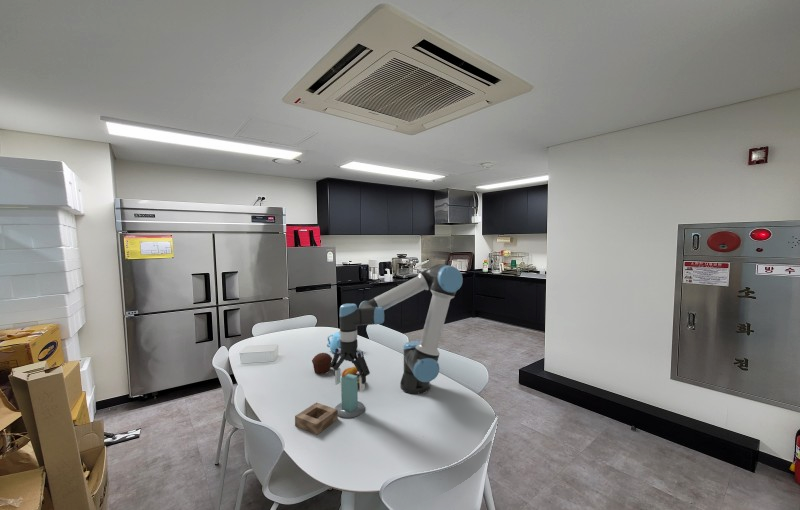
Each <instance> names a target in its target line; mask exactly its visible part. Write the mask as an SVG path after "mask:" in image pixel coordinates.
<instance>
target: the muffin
mask: <svg viewBox="0 0 800 510" xmlns="http://www.w3.org/2000/svg"><path fill="white" fill-rule="evenodd" d="M332 360H333V357H332V355H330V354H329V353H327V352H319V353H317V354H316V355H314V357H313V358H312V360H311V362H312V366H313V370H314V371H313V372H314V374H317V375H326V374H328V373H330V372H331V369H332V368H331V367H330V365H331V362H332Z"/></svg>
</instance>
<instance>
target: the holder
mask: <svg viewBox="0 0 800 510" xmlns="http://www.w3.org/2000/svg"><path fill="white" fill-rule="evenodd" d="M316 417H317V418H316ZM338 419H339V416H338V410H337V409H335V407H331V406H328V405H325V404H323V403H319V402H318V401H317V402H314V403H313V404H312V405H310V406H309V407H307V408H305V409H304V410H303V411H301V412H299V413H297V414H296V415H294V426H295V427H297V428H300V429H302V430H304V431H307V432H310V433H312V434H314V435H319V434H320V433H321V432H322V431H324V430H325V429H326V428H328V427H329V426H330V425H331V424H333V423H334V422H336V421H337V420H338Z"/></svg>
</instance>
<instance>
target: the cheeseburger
mask: <svg viewBox="0 0 800 510" xmlns="http://www.w3.org/2000/svg"><path fill="white" fill-rule="evenodd" d="M347 374H352V375H356V376H357V387H360V381H359V376H361V375H360V373H359V372H358V370H357V368H356V367H355V366H352V367H347V368H345V369H343V371H342V374H341V378H342V377H344V376H345V375H347Z"/></svg>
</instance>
